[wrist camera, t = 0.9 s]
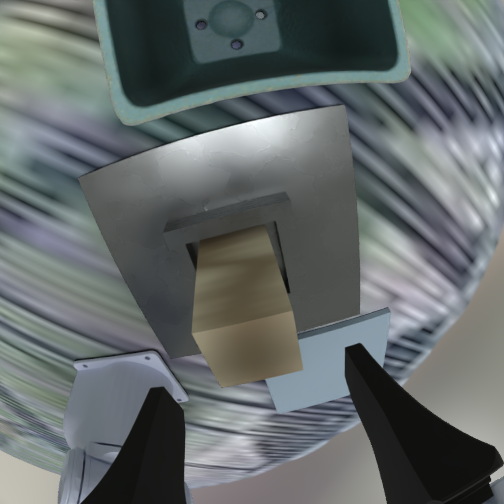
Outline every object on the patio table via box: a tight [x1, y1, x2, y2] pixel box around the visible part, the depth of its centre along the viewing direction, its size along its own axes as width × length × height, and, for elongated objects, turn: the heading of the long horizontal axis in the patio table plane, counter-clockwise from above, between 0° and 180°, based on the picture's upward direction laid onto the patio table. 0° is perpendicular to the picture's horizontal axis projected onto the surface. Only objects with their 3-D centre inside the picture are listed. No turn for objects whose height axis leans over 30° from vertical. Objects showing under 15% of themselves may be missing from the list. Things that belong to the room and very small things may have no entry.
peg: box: [192, 224, 303, 388], centre depth 16 cm, size 4×4×8 cm
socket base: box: [78, 104, 360, 359], centre depth 19 cm, size 16×16×2 cm
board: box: [265, 308, 391, 414], centre depth 27 cm, size 12×12×1 cm
